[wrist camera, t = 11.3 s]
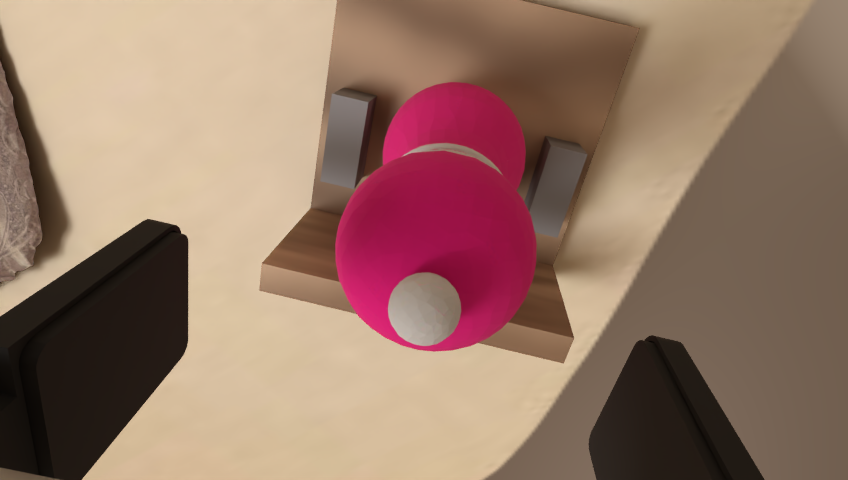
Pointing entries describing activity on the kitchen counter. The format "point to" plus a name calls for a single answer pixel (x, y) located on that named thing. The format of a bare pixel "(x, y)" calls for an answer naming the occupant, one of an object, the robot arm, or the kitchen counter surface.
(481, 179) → the pepper mill
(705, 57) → the kitchen counter surface
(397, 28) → the pegged stand
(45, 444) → the robot arm
